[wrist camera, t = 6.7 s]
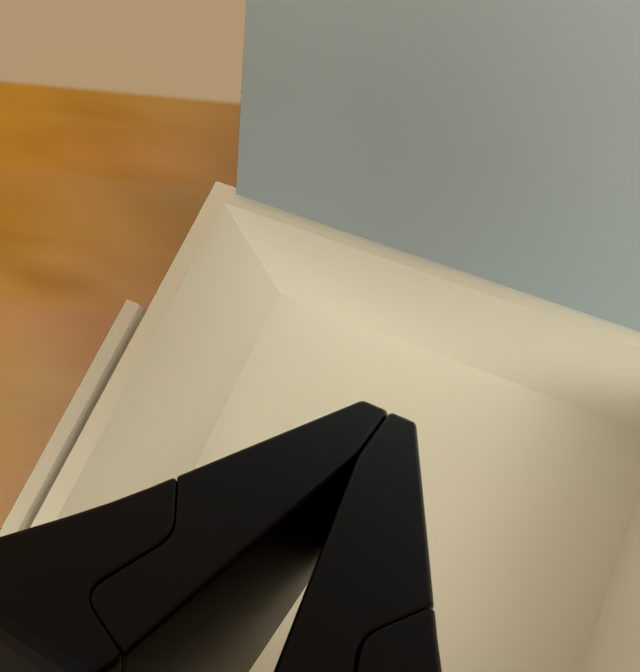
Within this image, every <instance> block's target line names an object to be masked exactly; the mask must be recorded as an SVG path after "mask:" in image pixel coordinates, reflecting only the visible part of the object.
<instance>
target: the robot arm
mask: <svg viewBox="0 0 640 672" xmlns="http://www.w3.org/2000/svg"><path fill="white" fill-rule="evenodd" d="M306 586H307V587H306ZM305 587H306V590H305V592H304V595H303V597H302V600H301V602H300V605H299V608H298V610H297V613H296V615H295V618H294V620H293V623H292V626H291V628H290V631H289V633H288V636H287V638H286V641H285V644H284V646H283V649H282V651H281V654H280V656H279V659H278V662H277V664H276V667H275V669H274V672H442V668H441V660H440V653H439V646H438V638H437V628H436V617H435V611H434V610H433V608H434V600H433V590H432V580H431V570H430V559H429V549H428V539H427V529H426V518H425V508H424V498H423V488H422V478H421V467H420V457H419V447H418V437H417V427H416V424H415V423H414V422H413V421H411V420H408V419H406V418H403V417H401V416H399V415H396V414H394V413H390V414H388V415H387V412H386V410H384V409H382V408H380V407H377V406H375V405H373V404H370V403H368V402H365V401H359V402H357V403H354V404H352V405H349V406H347V407H345V408H342V409H340V410H337V411H335V412H332V413H330V414H328V415H325V416H323V417H320V418H318V419H315V420H313V421H311V422H308V423H306V424H303V425H301V426H298V427H296V428H294V429H291V430H289V431H286V432H284V433H281V434H279V435H277V436H274V437H272V438H269V439H267V440H264V441H262V442H260V443H257V444H255V445H252V446H250V447H247V448H245V449H243V450H240V451H238V452H235V453H233V454H230V455H228V456H226V457H223V458H221V459H218V460H216V461H213V462H211V463H209V464H206V465H204V466H201V467H199V468H196V469H194V470H192V471H189V472H187V473H184V474H182V475H179V476H178V477H177V480H176V479H175V478H172V479H169V480H167V481H164V482H162V483H159V484H157V485H155V486H152V487H150V488H147V489H144V490H142V491H139V492H137V493H134V494H131V495H129V496H126V497H124V498H121V499H118V500H116V501H113V502H110V503H107V504H104V505H101V506H98V507H95V508H92V509H89V510H86V511H83V512H80V513H77V514H74V515H71V516H68V517H64V518H61V519H58V520H54V521H51V522H48V523H45V524H41V525H38V526H35V527H31V528H28V529H25V530H21V531H18V532H15V533H12V534H8V535H5V536H2V537H0V672H249V671H250V669H251V668H252V666H253V665H254V663H255V662H256V660H257V659H258V657H259V656H260V654H261V653H262V651H263V650H264V648H265V647H266V645H267V644H268V642H269V641H270V639H271V638H272V636H273V635H274V633H275V632H276V630H277V629H278V627H279V626H280V624H281V623H282V621H283V620H284V619H285V617H286V616H287V614H288V613H289V611H290V610H291V608H292V607H293V605H294V604H295V602H296V601H297V599H298V598H299V596H300V595H301V593H302V592H303V590H304V589H305Z"/></svg>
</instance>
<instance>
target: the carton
mask: <svg viewBox="0 0 640 672" xmlns="http://www.w3.org/2000/svg"><path fill="white" fill-rule="evenodd" d="M359 401H365V402H368V403H370V404H373V405H375V406H377V407H380V408H382V409H384V410H386V412H387V415H388V414H390V413H394V414H396V415H399V416H401V417H403V418H406V419H408V420H411V421H413V422H414V423H415V424H416V427H417V437H418V447H419V457H420V467H421V478H422V488H423V498H424V508H425V518H426V529H427V539H428V549H429V559H430V570H431V580H432V590H433V600H434V608H433V610H434V611H435V617H436V628H437V638H438V646H439V653H440V660H441V668H442V672H640V332H639V331H636V330H633V329H630V328H627V327H624V326H621V325H618V324H615V323H612V322H609V321H607V320H604V319H601V318H598V317H595V316H592V315H589V314H586V313H583V312H580V311H577V310H574V309H571V308H568V307H566V306H563V305H560V304H557V303H554V302H551V301H548V300H545V299H542V298H539V297H536V296H533V295H530V294H527V293H525V292H522V291H519V290H516V289H513V288H510V287H507V286H504V285H501V284H498V283H495V282H492V281H489V280H486V279H483V278H481V277H478V276H475V275H472V274H469V273H466V272H463V271H460V270H457V269H454V268H451V267H448V266H445V265H442V264H440V263H437V262H434V261H431V260H428V259H425V258H422V257H419V256H416V255H413V254H410V253H407V252H404V251H401V250H398V249H396V248H393V247H390V246H387V245H384V244H381V243H378V242H375V241H372V240H369V239H366V238H363V237H360V236H357V235H355V234H352V233H349V232H346V231H343V230H340V229H337V228H334V227H331V226H328V225H325V224H322V223H319V222H316V221H313V220H311V219H308V218H305V217H302V216H299V215H296V214H293V213H290V212H287V211H284V210H281V209H278V208H275V207H272V206H270V205H267V204H264V203H261V202H258V201H255V200H252V199H249V198H246V197H243V196H240V195H237V194H236V188H235V187H233V186H230V185H227V184H224V183H221V182H218V181H216V182H215V184H214V186H213V188H212V190H211V192H210V194H209V195H208V197H207V199H206V201H205V203H204V205H203V207H202V208H201V210H200V212H199V214H198V216H197V218H196V220H195V221H194V223H193V225H192V227H191V229H190V231H189V233H188V235H187V236H186V238H185V240H184V242H183V244H182V246H181V248H180V249H179V251H178V253H177V255H176V257H175V259H174V261H173V262H172V264H171V266H170V268H169V270H168V272H167V274H166V275H165V277H164V279H163V281H162V283H161V285H160V287H159V288H158V290H157V292H156V294H155V296H154V298H153V300H152V302H151V303H150V305H149V307H148V309H147V310H146V309H145V308H144V307H142V306H141V305H140V304H137V303H135V302H133V301H130V300H128V299H127V300H126V302H125V303H124V305H123V307H122V309H121V311H120V313H119V314H118V316H117V318H116V320H115V322H114V324H113V325H112V327H111V329H110V331H109V333H108V334H107V336H106V338H105V340H104V342H103V344H102V345H101V347H100V349H99V351H98V353H97V355H96V356H95V358H94V360H93V362H92V364H91V366H90V367H89V369H88V371H87V373H86V375H85V376H84V378H83V380H82V382H81V384H80V386H79V387H78V389H77V391H76V393H75V395H74V397H73V398H72V400H71V402H70V404H69V406H68V408H67V409H66V411H65V413H64V415H63V417H62V418H61V420H60V422H59V424H58V426H57V428H56V429H55V431H54V433H53V435H52V437H51V439H50V440H49V442H48V444H47V446H46V448H45V450H44V451H43V453H42V455H41V457H40V459H39V460H38V462H37V464H36V466H35V468H34V470H33V471H32V473H31V475H30V477H29V479H28V481H27V482H26V484H25V486H24V488H23V490H22V492H21V493H20V495H19V497H18V499H17V501H16V502H15V504H14V506H13V508H12V510H11V512H10V513H9V515H8V517H7V519H6V521H5V523H4V524H3V526H2V528H1V530H0V537H2V536H5V535H8V534H12V533H15V532H18V531H21V530H25V529H28V528H31V527H35V526H38V525H41V524H45V523H48V522H51V521H54V520H58V519H61V518H64V517H68V516H71V515H74V514H77V513H80V512H83V511H86V510H89V509H92V508H95V507H98V506H101V505H104V504H107V503H110V502H113V501H116V500H118V499H121V498H124V497H126V496H129V495H131V494H134V493H137V492H139V491H142V490H144V489H147V488H150V487H152V486H155V485H157V484H159V483H162V482H164V481H167V480H169V479H172V478H175V479H176V480H177V477H178V476H179V475H182V474H184V473H187V472H189V471H192V470H194V469H196V468H199V467H201V466H204V465H206V464H209V463H211V462H213V461H216V460H218V459H221V458H223V457H226V456H228V455H230V454H233V453H235V452H238V451H240V450H243V449H245V448H247V447H250V446H252V445H255V444H257V443H260V442H262V441H264V440H267V439H269V438H272V437H274V436H277V435H279V434H281V433H284V432H286V431H289V430H291V429H294V428H296V427H298V426H301V425H303V424H306V423H308V422H311V421H313V420H315V419H318V418H320V417H323V416H325V415H328V414H330V413H332V412H335V411H337V410H340V409H342V408H345V407H347V406H349V405H352V404H354V403H357V402H359ZM306 587H307V586H306ZM306 587H305V589H304V590H303V592H302V593H301V595H300V596H299V598H298V599H297V601H296V602H295V604H294V605H293V607H292V608H291V610H290V611H289V613H288V614H287V616H286V617H285V619H284V620H283V621H282V623H281V624H280V626H279V627H278V629H277V630H276V632H275V633H274V635H273V636H272V638H271V639H270V641H269V642H268V644H267V645H266V647H265V648H264V650H263V651H262V653H261V654H260V656H259V657H258V659H257V660H256V662H255V663H254V665H253V666H252V668H251V669H250V671H249V672H274V669H275V667H276V664H277V662H278V659H279V656H280V654H281V651H282V649H283V646H284V644H285V641H286V638H287V636H288V633H289V631H290V628H291V626H292V623H293V620H294V618H295V615H296V613H297V610H298V608H299V605H300V602H301V600H302V597H303V595H304V592H305V590H306Z"/></svg>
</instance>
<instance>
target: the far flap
mask: <svg viewBox="0 0 640 672" xmlns="http://www.w3.org/2000/svg"><path fill="white" fill-rule="evenodd" d="M245 17H246V18H245V35H244V54H243V73H242V90H241V109H240V128H239V146H238V165H237V184H236V194H237V195H240V196H243V197H246V198H249V199H252V200H255V201H258V202H261V203H264V204H267V205H270V206H272V207H275V208H278V209H281V210H284V211H287V212H290V213H293V214H296V215H299V216H302V217H305V218H308V219H311V220H313V221H316V222H319V223H322V224H325V225H328V226H331V227H334V228H337V229H340V230H343V231H346V232H349V233H352V234H355V235H357V236H360V237H363V238H366V239H369V240H372V241H375V242H378V243H381V244H384V245H387V246H390V247H393V248H396V249H398V250H401V251H404V252H407V253H410V254H413V255H416V256H419V257H422V258H425V259H428V260H431V261H434V262H437V263H440V264H442V265H445V266H448V267H451V268H454V269H457V270H460V271H463V272H466V273H469V274H472V275H475V276H478V277H481V278H483V279H486V280H489V281H492V282H495V283H498V284H501V285H504V286H507V287H510V288H513V289H516V290H519V291H522V292H525V293H527V294H530V295H533V296H536V297H539V298H542V299H545V300H548V301H551V302H554V303H557V304H560V305H563V306H566V307H568V308H571V309H574V310H577V311H580V312H583V313H586V314H589V315H592V316H595V317H598V318H601V319H604V320H607V321H609V322H612V323H615V324H618V325H621V326H624V327H627V328H630V329H633V330H636V331H639V332H640V0H246V16H245Z"/></svg>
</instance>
